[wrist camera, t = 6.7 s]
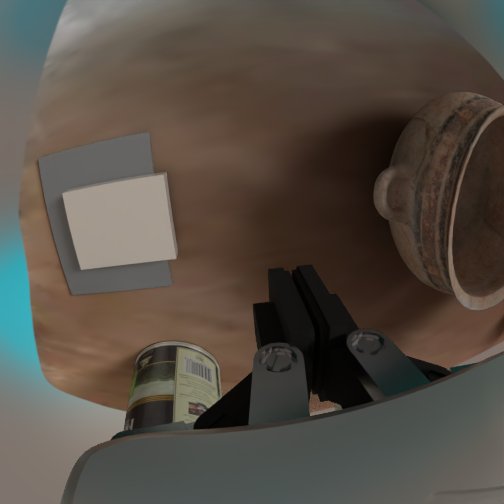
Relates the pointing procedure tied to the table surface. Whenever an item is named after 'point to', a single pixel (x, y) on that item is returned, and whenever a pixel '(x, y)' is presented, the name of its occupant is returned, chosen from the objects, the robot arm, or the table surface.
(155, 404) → the coffee can
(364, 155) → the table surface
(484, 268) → the cooking pot
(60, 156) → the mat
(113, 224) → the tile
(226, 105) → the table surface
